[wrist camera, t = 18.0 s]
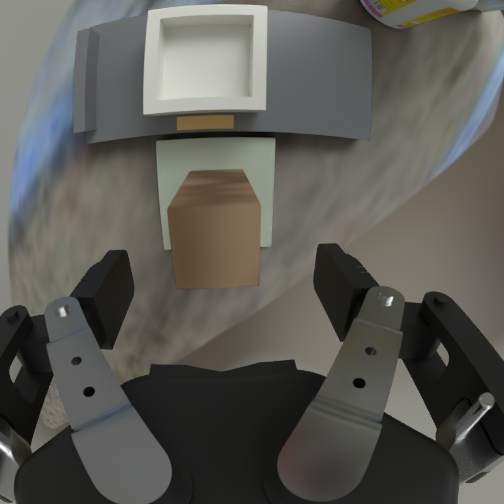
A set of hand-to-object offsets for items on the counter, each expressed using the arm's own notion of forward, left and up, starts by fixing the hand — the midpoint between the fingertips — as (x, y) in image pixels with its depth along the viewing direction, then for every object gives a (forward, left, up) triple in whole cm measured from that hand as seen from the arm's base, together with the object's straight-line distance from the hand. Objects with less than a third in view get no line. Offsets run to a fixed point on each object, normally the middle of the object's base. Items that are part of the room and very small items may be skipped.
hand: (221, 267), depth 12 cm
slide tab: (+1, -10, -10) cm, 14 cm away
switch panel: (-1, -10, -12) cm, 16 cm away
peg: (0, 0, -11) cm, 11 cm away
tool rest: (0, 0, -12) cm, 12 cm away
